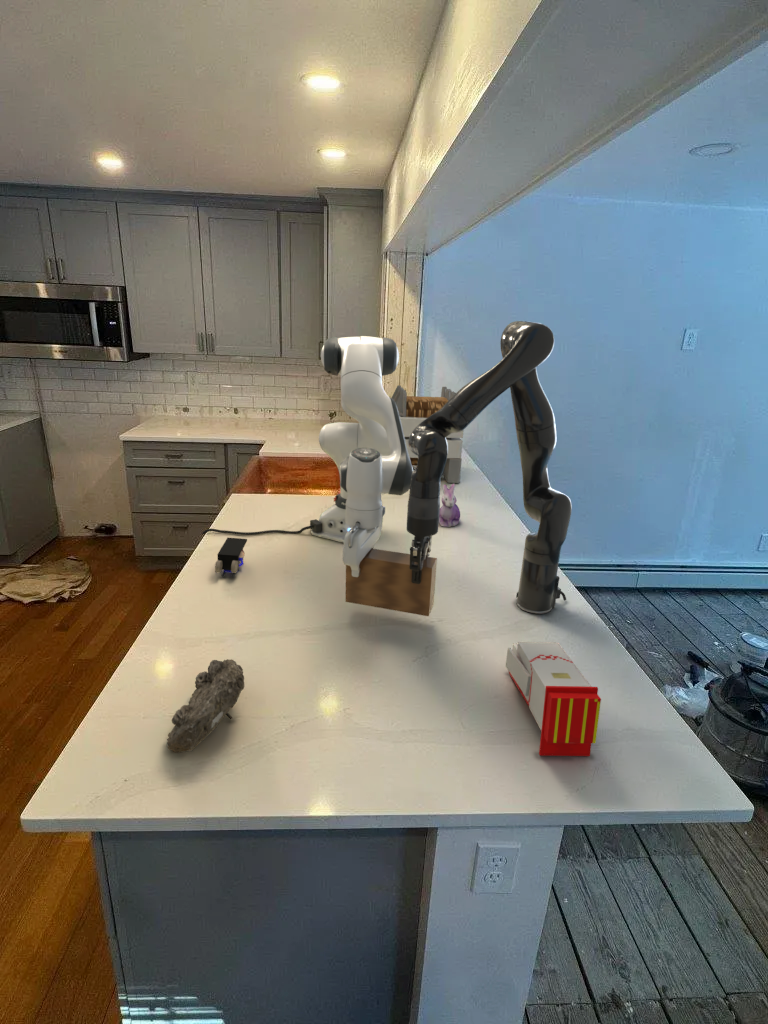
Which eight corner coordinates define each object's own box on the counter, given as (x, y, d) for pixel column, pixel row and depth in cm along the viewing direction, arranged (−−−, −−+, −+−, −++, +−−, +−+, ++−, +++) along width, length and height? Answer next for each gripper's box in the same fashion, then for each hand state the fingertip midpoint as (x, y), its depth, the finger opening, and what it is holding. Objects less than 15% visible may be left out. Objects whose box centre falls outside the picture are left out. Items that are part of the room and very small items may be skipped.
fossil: (192, 660, 117) (244, 628, 112) (224, 691, 120) (276, 661, 115) (142, 746, 98) (202, 712, 93) (182, 779, 101) (242, 748, 96)
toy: (554, 624, 127) (610, 694, 97) (548, 679, 130) (602, 763, 100) (500, 623, 126) (541, 693, 97) (496, 678, 129) (534, 763, 100)
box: (345, 601, 143) (345, 555, 139) (353, 591, 149) (354, 545, 144) (428, 616, 138) (432, 568, 133) (433, 604, 143) (437, 558, 139)
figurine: (445, 529, 206) (449, 489, 200) (430, 519, 214) (433, 481, 209) (467, 525, 210) (470, 487, 205) (451, 516, 218) (454, 479, 213)
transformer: (382, 463, 289) (386, 382, 275) (445, 464, 293) (451, 384, 279) (390, 482, 257) (394, 392, 243) (460, 483, 261) (468, 394, 247)
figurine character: (238, 584, 162) (249, 557, 175) (236, 562, 158) (247, 536, 172) (215, 584, 161) (227, 556, 175) (212, 561, 158) (225, 535, 171)
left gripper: (362, 532, 127) (361, 587, 132) (387, 505, 146) (385, 554, 150) (336, 528, 129) (335, 583, 133) (364, 502, 147) (362, 551, 152)
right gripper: (433, 525, 125) (428, 592, 131) (444, 505, 138) (439, 567, 144) (400, 520, 127) (396, 587, 133) (414, 501, 140) (411, 563, 146)
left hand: (362, 568), depth 142 cm, fingers open, 8 cm apart
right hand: (419, 576), depth 138 cm, fingers closed on box, 6 cm apart
